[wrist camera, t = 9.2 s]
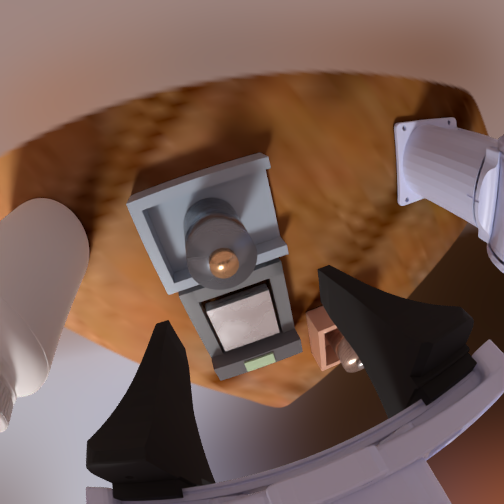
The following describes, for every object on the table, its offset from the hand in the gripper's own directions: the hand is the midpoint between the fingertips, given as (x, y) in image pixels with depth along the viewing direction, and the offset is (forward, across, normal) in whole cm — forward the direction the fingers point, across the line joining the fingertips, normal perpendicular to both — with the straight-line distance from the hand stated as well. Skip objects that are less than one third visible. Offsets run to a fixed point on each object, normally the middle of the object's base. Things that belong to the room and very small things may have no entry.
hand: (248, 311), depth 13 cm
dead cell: (+10, -9, +15) cm, 20 cm away
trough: (+10, 0, -1) cm, 10 cm away
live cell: (+10, 0, 0) cm, 10 cm away
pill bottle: (+10, +13, -4) cm, 17 cm away
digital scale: (+10, 0, +9) cm, 13 cm away
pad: (+9, 0, +8) cm, 12 cm away
